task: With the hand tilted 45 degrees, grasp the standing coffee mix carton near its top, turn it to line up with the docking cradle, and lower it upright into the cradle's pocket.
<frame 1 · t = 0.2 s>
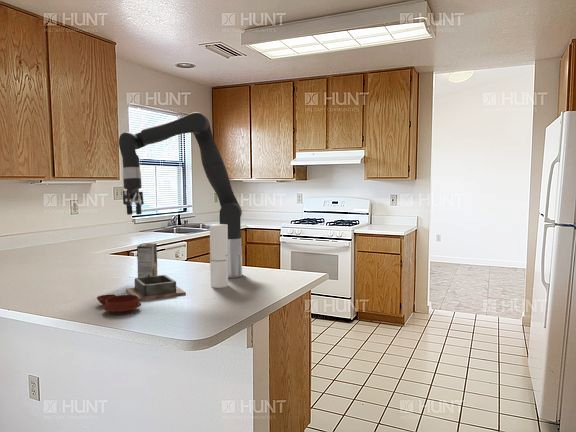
hand: (134, 214, 192), 28 cm above the countertop, tool pointing down, fingers open, 8 cm apart
docking cradle: (155, 292, 165), on the countertop
coffee box: (147, 282, 182), on the countertop
pottery: (116, 310, 144), on the countertop
cylindrical container: (219, 286, 176), on the countertop
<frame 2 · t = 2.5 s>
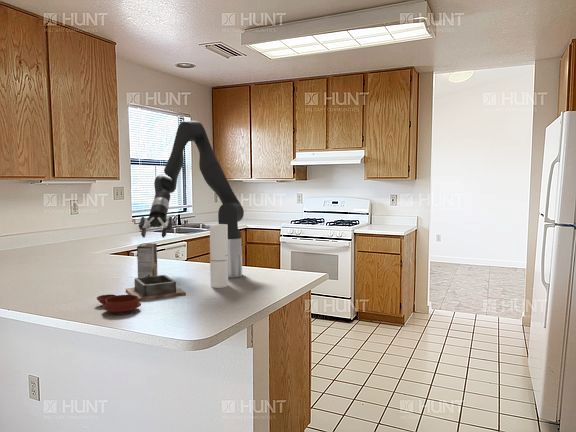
hand: (153, 236, 190), 18 cm above the countertop, tool tilted 45°, fingers open, 8 cm apart
nothing on the countertop moved.
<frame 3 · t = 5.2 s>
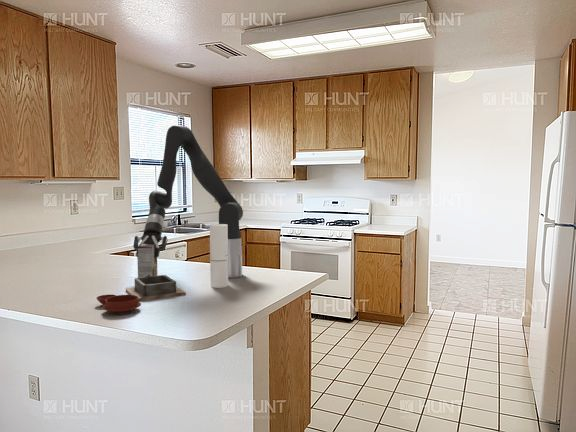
hand: (147, 257, 181), 11 cm above the countertop, tool tilted 45°, fingers closed on coffee box, 6 cm apart
coffee box: (148, 282, 182), on the countertop, touching gripper
everything else where it was.
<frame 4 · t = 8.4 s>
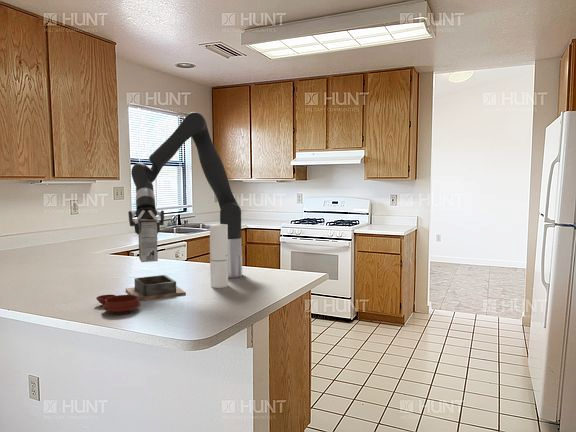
hand: (147, 232, 169), 22 cm above the countertop, tool tilted 45°, fingers closed on coffee box, 6 cm apart
coffee box: (148, 260, 170), point 11 cm above the countertop, touching gripper
everything else where it was.
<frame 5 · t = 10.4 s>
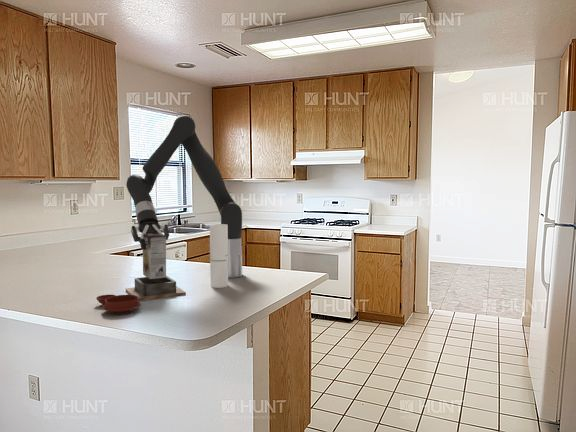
hand: (154, 248, 163), 17 cm above the countertop, tool tilted 45°, fingers closed on coffee box, 6 cm apart
coffee box: (154, 276, 164), point 6 cm above the countertop, touching gripper
everything else where it was.
when the fingers open (13 cm above the countertop, at t = 11.9 s): coffee box drops 1 cm, resting on docking cradle.
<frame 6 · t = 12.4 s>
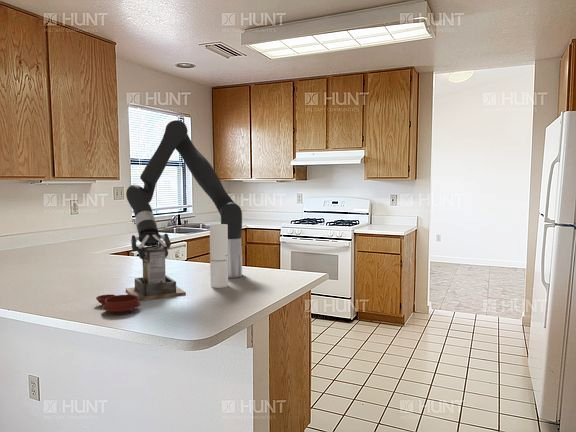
hand: (154, 257, 163), 14 cm above the countertop, tool tilted 45°, fingers open, 8 cm apart
coffee box: (154, 290, 165), point 1 cm above the countertop, touching docking cradle
everything else where it was.
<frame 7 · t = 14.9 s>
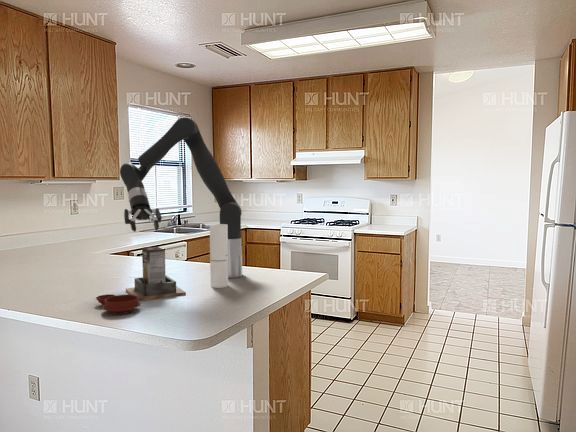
hand: (146, 229, 173), 23 cm above the countertop, tool tilted 45°, fingers open, 8 cm apart
nothing on the countertop moved.
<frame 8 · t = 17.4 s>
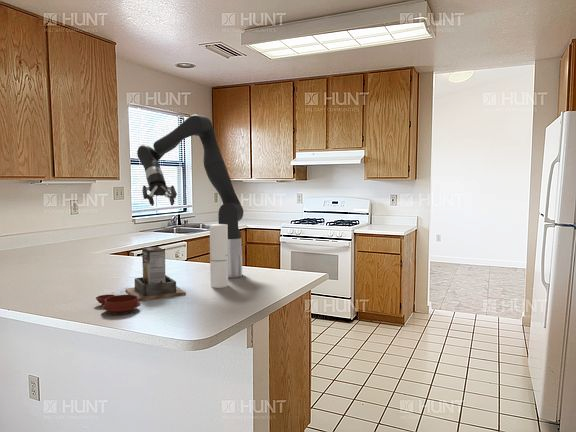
hand: (162, 204, 189), 33 cm above the countertop, tool tilted 45°, fingers open, 8 cm apart
nothing on the countertop moved.
at the end: coffee box 0.4 cm off-centre on the docking cradle, point 0.8 cm above the docking cradle's base; coffee box tilted 0°; the gripper is holding nothing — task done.
